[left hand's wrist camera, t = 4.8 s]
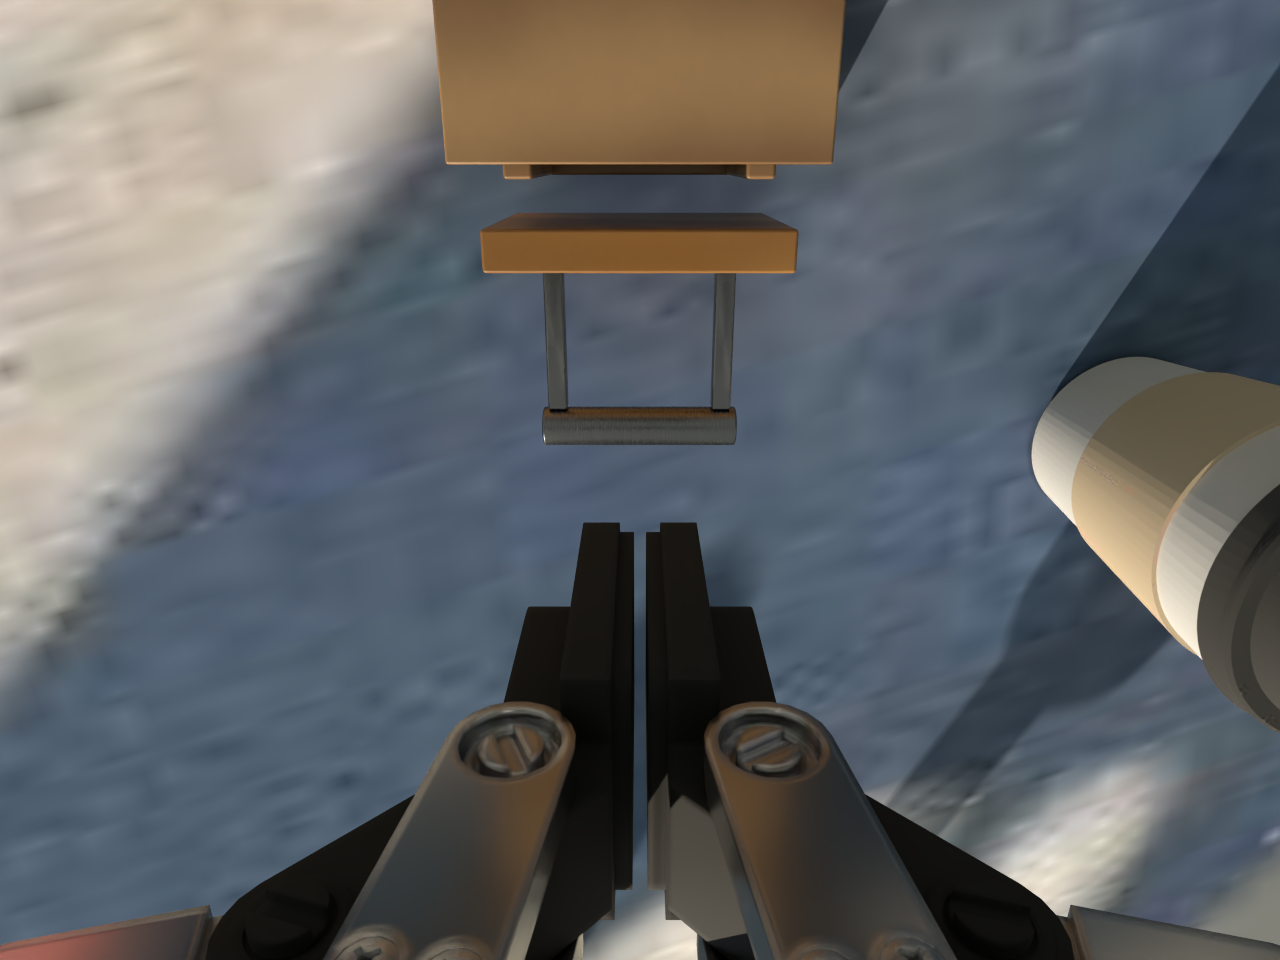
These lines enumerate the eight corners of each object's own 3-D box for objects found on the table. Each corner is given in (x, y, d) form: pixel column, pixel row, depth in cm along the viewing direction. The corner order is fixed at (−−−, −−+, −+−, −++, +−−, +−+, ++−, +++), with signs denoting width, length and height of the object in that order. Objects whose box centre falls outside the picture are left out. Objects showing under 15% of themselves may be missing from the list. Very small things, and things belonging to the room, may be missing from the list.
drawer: (753, 401, 32) (782, 465, 25) (525, 401, 32) (495, 465, 25) (798, -443, 23) (862, -685, 16) (480, -443, 23) (415, -685, 16)
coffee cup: (1272, 444, 33) (1727, 650, 19) (1080, 578, 36) (1363, 849, 22) (1158, 279, 31) (1585, 379, 17) (960, 434, 33) (1193, 635, 19)
